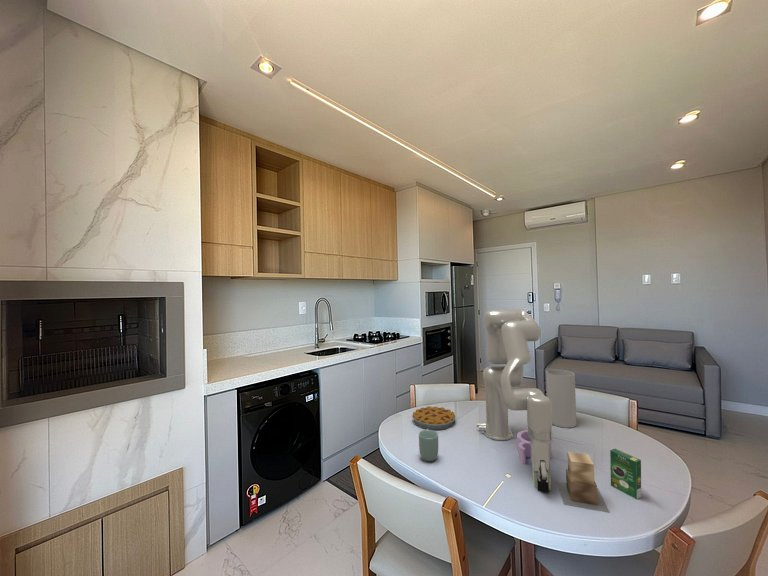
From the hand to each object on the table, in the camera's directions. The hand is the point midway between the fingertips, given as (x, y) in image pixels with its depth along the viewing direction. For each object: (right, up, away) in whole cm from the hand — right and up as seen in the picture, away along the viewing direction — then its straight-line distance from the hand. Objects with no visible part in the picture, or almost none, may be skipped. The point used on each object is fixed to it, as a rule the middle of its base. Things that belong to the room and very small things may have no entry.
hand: (541, 485), depth 106 cm
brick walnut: (+9, +1, -7) cm, 11 cm away
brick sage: (0, -1, 0) cm, 1 cm away
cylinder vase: (+35, -1, +50) cm, 61 cm away
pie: (-28, -3, +56) cm, 62 cm away
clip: (+7, -1, +20) cm, 21 cm away
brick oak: (+9, +7, -6) cm, 13 cm away
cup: (-35, -2, +20) cm, 41 cm away
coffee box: (+25, 0, -5) cm, 25 cm away
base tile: (+9, 0, -7) cm, 11 cm away
